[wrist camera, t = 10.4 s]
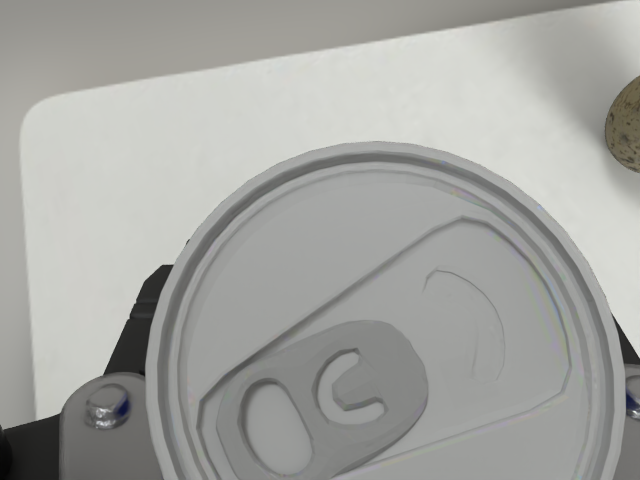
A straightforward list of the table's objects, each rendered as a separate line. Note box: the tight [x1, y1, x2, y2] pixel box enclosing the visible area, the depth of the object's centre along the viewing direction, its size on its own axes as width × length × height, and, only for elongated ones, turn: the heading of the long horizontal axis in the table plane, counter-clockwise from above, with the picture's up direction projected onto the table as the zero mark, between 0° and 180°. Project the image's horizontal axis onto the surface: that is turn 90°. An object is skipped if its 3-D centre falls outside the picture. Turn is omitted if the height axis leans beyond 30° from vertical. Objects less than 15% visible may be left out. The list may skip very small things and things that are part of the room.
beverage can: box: [145, 141, 626, 480], centre depth 13 cm, size 5×5×15 cm
